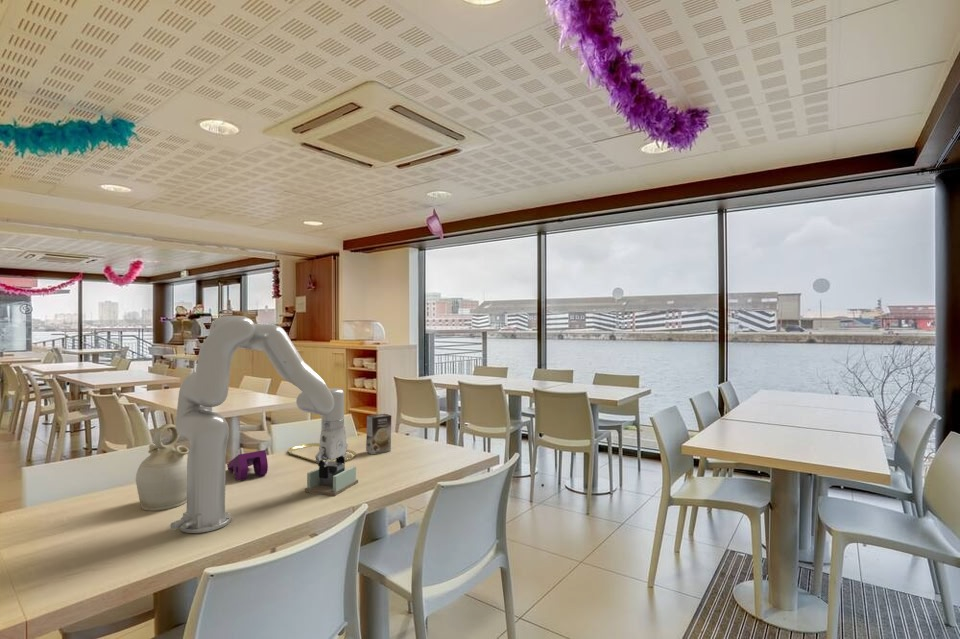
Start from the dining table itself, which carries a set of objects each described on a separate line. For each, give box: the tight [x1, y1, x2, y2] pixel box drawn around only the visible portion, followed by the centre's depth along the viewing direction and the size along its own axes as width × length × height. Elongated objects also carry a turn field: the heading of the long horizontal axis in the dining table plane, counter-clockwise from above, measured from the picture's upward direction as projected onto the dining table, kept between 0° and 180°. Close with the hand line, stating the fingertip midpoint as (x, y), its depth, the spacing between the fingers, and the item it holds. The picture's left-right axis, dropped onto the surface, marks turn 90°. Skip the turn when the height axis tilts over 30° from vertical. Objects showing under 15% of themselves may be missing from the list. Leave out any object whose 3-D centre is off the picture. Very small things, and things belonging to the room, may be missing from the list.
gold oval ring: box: [287, 442, 357, 463], centre depth 209 cm, size 19×35×2 cm, turn 52°
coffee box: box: [365, 413, 392, 455], centre depth 214 cm, size 9×6×16 cm
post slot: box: [304, 465, 359, 497], centre depth 168 cm, size 14×12×6 cm
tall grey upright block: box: [319, 460, 346, 487], centre depth 168 cm, size 4×7×7 cm, turn 72°
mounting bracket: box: [226, 449, 269, 482], centre depth 181 cm, size 9×8×18 cm
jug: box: [135, 423, 190, 512], centre depth 152 cm, size 15×16×25 cm
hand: (332, 473), depth 168 cm, fingers open, 9 cm apart
